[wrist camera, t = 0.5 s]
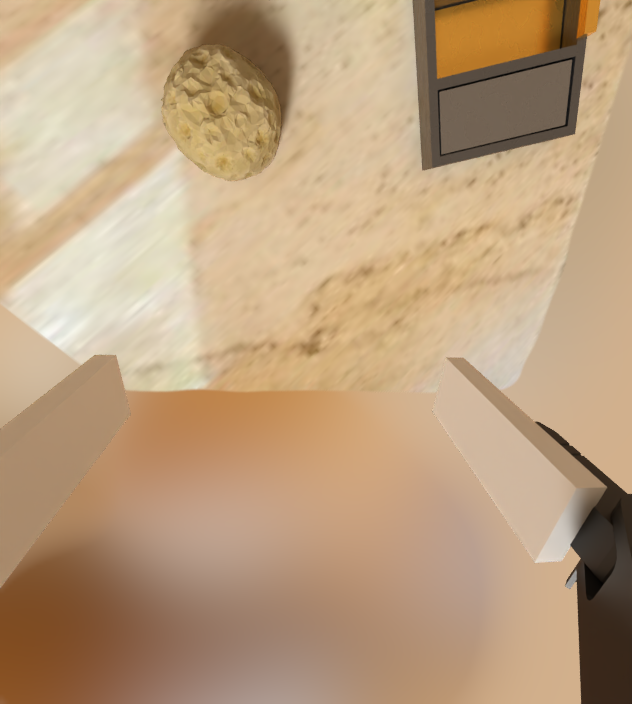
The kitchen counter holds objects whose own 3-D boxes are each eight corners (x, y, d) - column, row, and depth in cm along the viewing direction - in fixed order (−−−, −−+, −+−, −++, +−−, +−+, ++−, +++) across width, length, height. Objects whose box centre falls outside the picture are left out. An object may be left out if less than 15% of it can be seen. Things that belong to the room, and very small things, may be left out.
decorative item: (268, 92, 32) (205, -26, 23) (317, 157, 30) (269, 54, 20) (201, 156, 34) (118, 72, 25) (242, 221, 32) (168, 155, 22)
